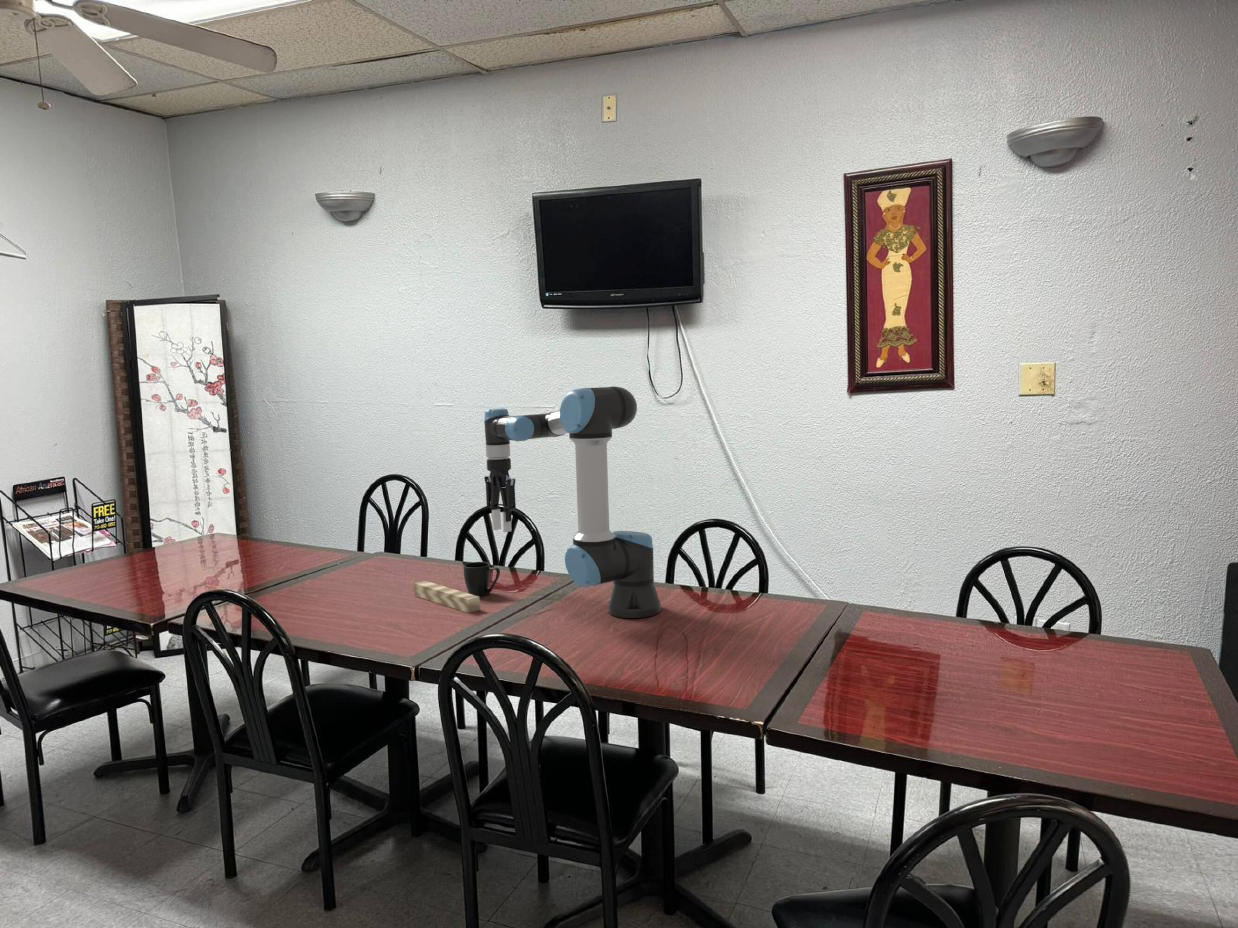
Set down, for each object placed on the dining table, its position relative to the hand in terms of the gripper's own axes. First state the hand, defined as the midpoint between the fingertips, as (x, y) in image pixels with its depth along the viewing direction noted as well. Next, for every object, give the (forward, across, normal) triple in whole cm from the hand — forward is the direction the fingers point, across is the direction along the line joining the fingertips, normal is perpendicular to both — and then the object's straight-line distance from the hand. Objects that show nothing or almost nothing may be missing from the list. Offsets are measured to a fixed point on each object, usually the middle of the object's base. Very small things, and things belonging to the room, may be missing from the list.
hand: (502, 530), depth 281 cm
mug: (+19, -1, +9) cm, 21 cm away
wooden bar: (+19, 0, +22) cm, 29 cm away
